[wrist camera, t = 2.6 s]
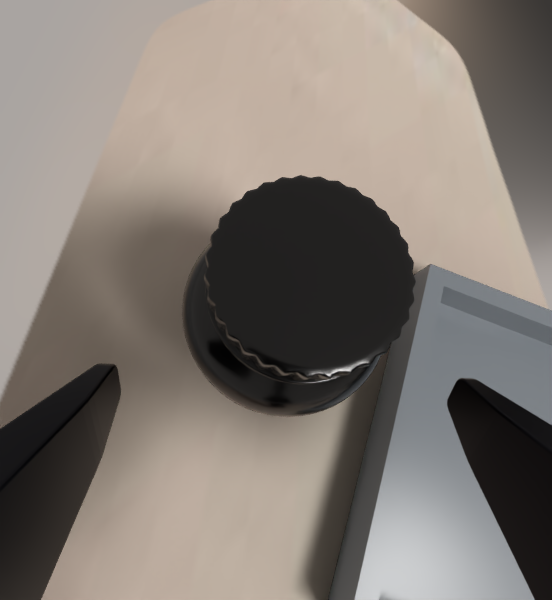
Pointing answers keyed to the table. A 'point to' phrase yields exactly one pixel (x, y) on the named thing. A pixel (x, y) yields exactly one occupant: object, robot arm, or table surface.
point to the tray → (441, 449)
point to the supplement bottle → (297, 296)
